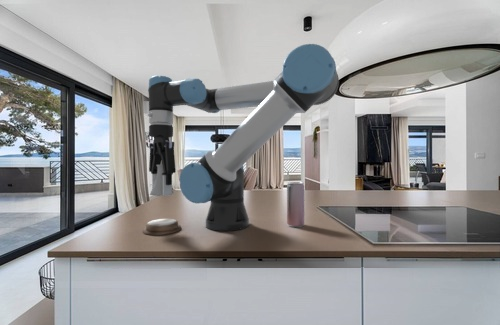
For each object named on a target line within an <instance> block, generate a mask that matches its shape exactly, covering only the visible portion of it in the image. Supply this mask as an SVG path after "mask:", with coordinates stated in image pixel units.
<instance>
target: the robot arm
mask: <svg viewBox="0 0 500 325" xmlns="http://www.w3.org/2000/svg"><path fill="white" fill-rule="evenodd" d="M339 84H340V80H339V75H338V72H337V65H336V61H335V59H334V57H333V56H332V54H331V53H330V51H329V50H328V49H326V48H325V47H324V46H321V45H320V44H317V43H316V44H315V43H307V44H302V45H299V46H297V47H296V48H295V47H294V49H292V50H291V51H290V52H289V53H288V54H287V56H286V58H285V59H284V61H283V63H282V70H281V73H280V74H279V75H278V76H277V77H276V78H275V79H274V80H270V81H269V80H268V81H264V82H263V81H261V82H256V83H247V84H240V85H235V86H234V85H232V86H225V87H220V88H212V89H208V88H206V85H205V83H203V80H201V79H199V78H186V79H181V80H177V81H173V79H172V78H171V77H170V76H165V75H153V76H151V77H150V78H149V80H148V89H147V91H148V92H147V93H148V114H147V117H148V123H149V124H150V125H149V126H148V130H149V131H148V135H149V137H151V138H153V143H152V142H151V143H149V160H148V161H149V164H148V165H149V166H148V171H149V173H150V172H151V173H150V174H151V185H152V186H151V187H152V188H153V185H154V182H155V180H156V177H157V169H158V168H157V166H156V165H163V170H164V173H162V175H163V196H164V197H165V196H172V195H173V194H172V190H173V183H172V182H173V180H172V179H173V178H172V177H173V176H172V175H173V174H175V173H176V171H177V170H176V159H175V142H174V141H170V138H172V137H174V127H173V125H174V107H175V106H188V107H191V108H194V109H198V110H199V111H203V112H206V113H208V114H211V113H212V114H217V113H219V112H221V111H226V110H236V109H237V110H238V109H243V108H244V109H246V108H255V109H254V110H253V111H252V112H251V113H250V114H249V115H247V117H246V118H245V119H244V120H243V121H242V122H241V123H240V124H239V125H238V127H236V128H235V130H234V131H233V132H231V134H230V135H229V136H228V137H227V138H226V139H225V140H224V141H223V143H221V144H220V145H219V146H218V148H217V149H215V150H209V151H206V153H204V155H203V156H202V157H201V158H200V159H199V160H198V161H197V162H191V163H189V164H187V165H186V166H184V167H183V168H182V169H181V171H180V174H179V179H178V180H179V188H180V192H181V193H182V195H183V196H184V197H185V199H187V200H188V202H191V203H193V204H206V203H208V202H210V205H209V209H208V212H207V214H206V218H205V227H206V228H207V229H208V230H213V231H218V232H219V231H222V232H224V231H225V232H227V231H228V232H229V231H237V230H243V229H246V228H247V227H248V226H249V225H250V218H249V215H248V212H247V209H246V206H245V202H244V201H245V199H244V197H245V193H244V191H245V190H244V188H245V187H244V186H245V185H244V183H245V182H244V181H245V180H244V179H245V178H244V176H245V174H244V173H245V168H244V165H245V164H246V163H247V162H248V161H249V160H250V159H251V158H252V157H253V156H254V155H255V154H256V153H257V152H258V151H259V150H260V149H261V148H262V147H263V146H264V145H265V144H266V143H267V142H268V141H270V140H271V139H272V138H273V137H274V135H276V134H277V133H278V132H279V131H280V130H281V129H282V128H283V127H284V126H285V125H286V124H287V123H288V122H289V121H290V120H291V119H292V118H293V117H294V116H295V115H296V114H305V113H306V112H308V111H309V110H310V109H311V108H312V107H313V106H320V105H322V104H325V103H327V102H329V101H331V99H332V98H333V97H334V96H335V94H336V93H337V91H338V88H339ZM152 188H151V189H152Z"/></svg>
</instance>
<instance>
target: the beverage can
mask: <svg viewBox="0 0 500 325" xmlns="http://www.w3.org/2000/svg"><path fill="white" fill-rule="evenodd" d="M286 224H287V226H288V227H291V228H302V227H304V225H305V184H304V182H300V181H289V182H287V184H286Z"/></svg>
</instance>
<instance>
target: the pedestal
mask: <svg viewBox="0 0 500 325" xmlns="http://www.w3.org/2000/svg"><path fill="white" fill-rule="evenodd" d="M181 230H182V226H181V225H180V224H179V221H178V220H176V219H173V218H158V219H153V220H150V221H148V222H146V223H145V227H144V228H142V233H143V234H144V235H147V236H166V235H171V234H175V233H178V232H179V231H181Z"/></svg>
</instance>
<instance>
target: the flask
mask: <svg viewBox="0 0 500 325" xmlns="http://www.w3.org/2000/svg"><path fill="white" fill-rule="evenodd" d="M156 166H157V168H158V169H157V177H156V180H155V182H154V185H153V188H151V190H150V194H149V195H150V196H157V197H159V196H163V175H162V173H164V170H163V165H162V164H161V165H156ZM173 194H174V190H173V189H172V195H173Z"/></svg>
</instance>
